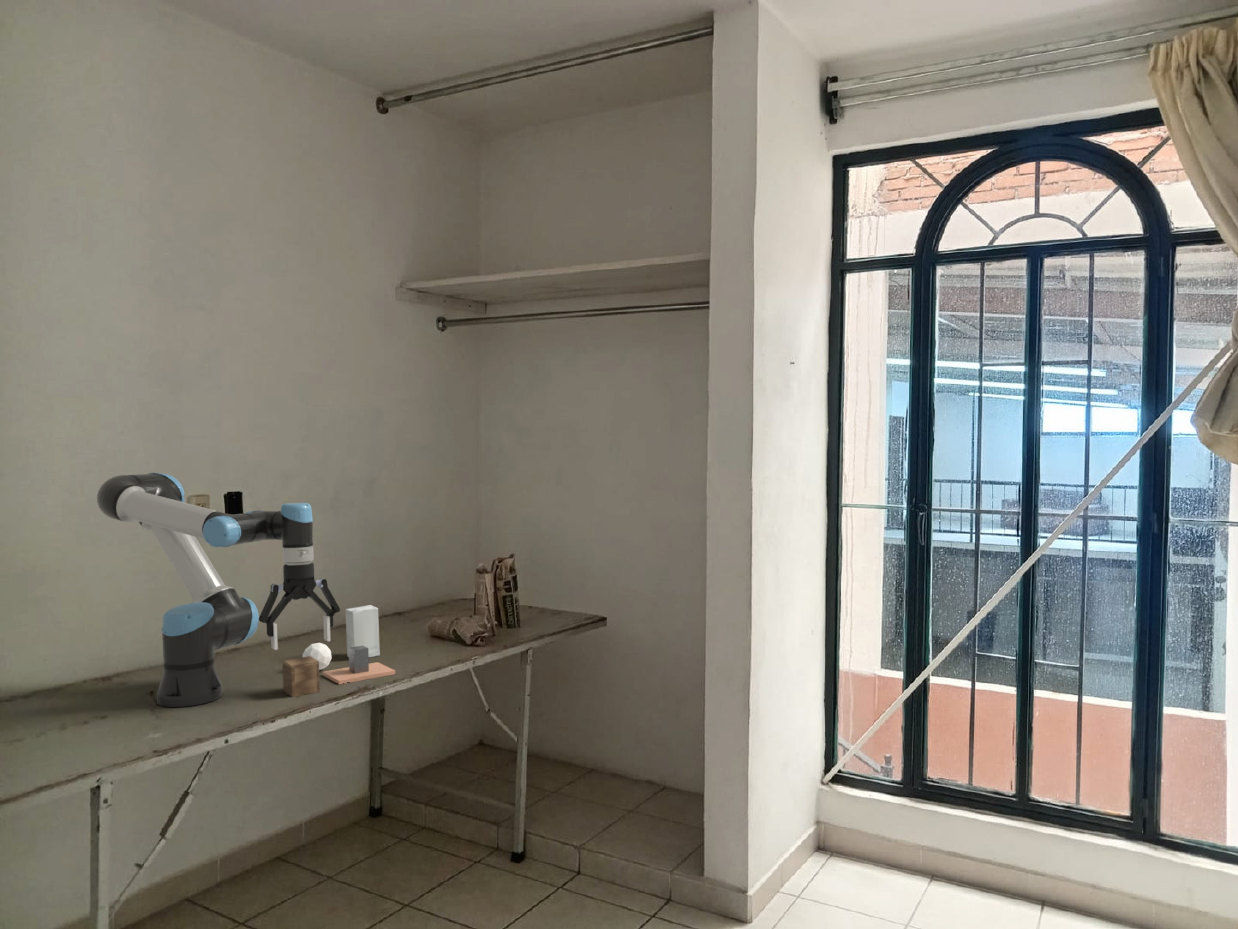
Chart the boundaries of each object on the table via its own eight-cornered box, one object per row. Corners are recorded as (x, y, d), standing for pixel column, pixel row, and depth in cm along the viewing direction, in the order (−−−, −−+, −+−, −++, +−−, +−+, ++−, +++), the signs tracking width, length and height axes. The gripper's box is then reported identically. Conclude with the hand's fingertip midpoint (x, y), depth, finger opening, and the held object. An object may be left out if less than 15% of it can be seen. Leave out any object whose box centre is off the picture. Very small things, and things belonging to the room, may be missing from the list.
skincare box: (372, 652, 276) (371, 604, 275) (380, 656, 271) (379, 607, 271) (345, 657, 271) (344, 607, 270) (353, 661, 266) (352, 610, 266)
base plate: (339, 684, 241) (338, 680, 241) (322, 675, 250) (322, 671, 250) (395, 674, 251) (395, 670, 251) (377, 665, 260) (377, 662, 260)
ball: (310, 679, 257) (301, 654, 260) (338, 666, 259) (328, 642, 262) (305, 672, 250) (295, 646, 253) (333, 659, 253) (323, 634, 256)
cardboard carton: (292, 697, 230) (291, 665, 230) (283, 691, 235) (282, 660, 235) (319, 691, 234) (318, 661, 234) (310, 686, 240) (309, 656, 239)
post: (354, 673, 248) (354, 650, 247) (349, 670, 251) (348, 647, 251) (368, 671, 250) (368, 648, 250) (363, 668, 253) (362, 645, 253)
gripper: (252, 569, 223) (255, 655, 224) (350, 559, 238) (353, 639, 239) (244, 566, 229) (247, 649, 229) (340, 556, 244) (342, 634, 245)
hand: (301, 644), depth 234 cm, fingers open, 13 cm apart
